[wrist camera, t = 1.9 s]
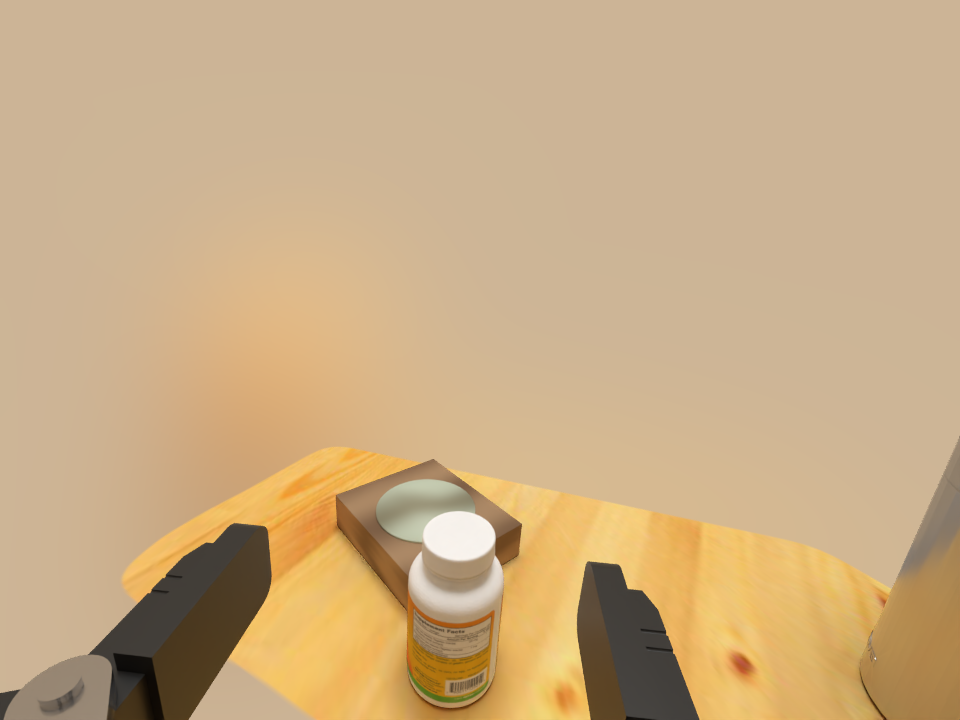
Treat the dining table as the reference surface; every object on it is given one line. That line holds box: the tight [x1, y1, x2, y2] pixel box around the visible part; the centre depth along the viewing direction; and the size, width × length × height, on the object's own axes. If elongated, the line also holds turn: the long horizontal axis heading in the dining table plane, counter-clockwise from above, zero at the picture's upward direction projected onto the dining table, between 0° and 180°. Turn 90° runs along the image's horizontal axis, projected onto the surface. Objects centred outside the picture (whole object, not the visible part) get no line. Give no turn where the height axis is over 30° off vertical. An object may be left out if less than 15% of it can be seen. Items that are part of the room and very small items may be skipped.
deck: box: [336, 459, 522, 611], centre depth 37 cm, size 12×10×3 cm
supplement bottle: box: [407, 511, 504, 708], centre depth 26 cm, size 5×5×10 cm
